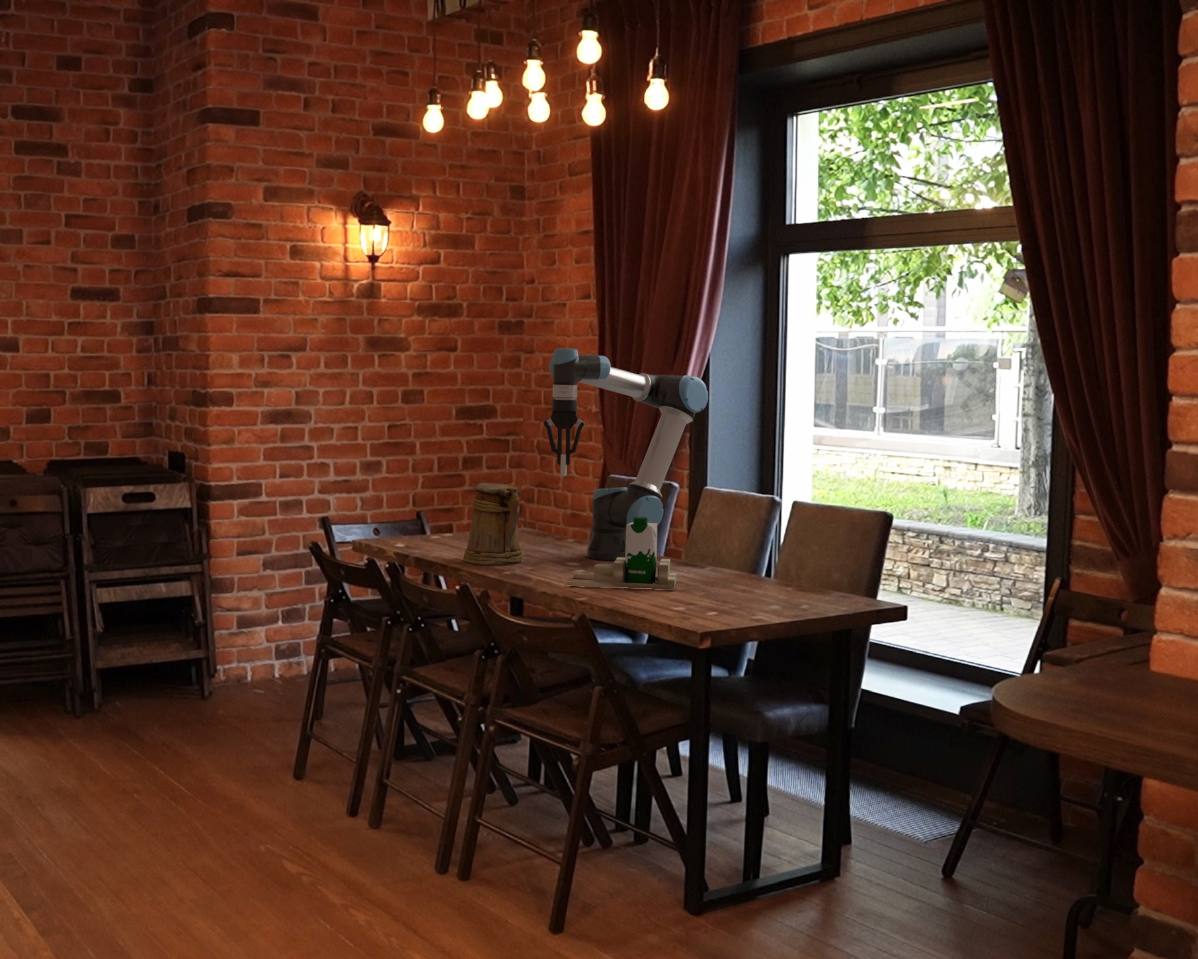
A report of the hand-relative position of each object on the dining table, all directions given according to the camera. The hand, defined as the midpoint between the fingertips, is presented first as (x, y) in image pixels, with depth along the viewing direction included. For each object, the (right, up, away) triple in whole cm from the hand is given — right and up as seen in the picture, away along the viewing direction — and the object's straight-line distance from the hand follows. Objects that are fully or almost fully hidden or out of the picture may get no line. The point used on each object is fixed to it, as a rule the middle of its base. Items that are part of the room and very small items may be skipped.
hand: (563, 475), depth 421 cm
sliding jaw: (+14, -32, -21) cm, 40 cm away
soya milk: (+23, -32, -22) cm, 45 cm away
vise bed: (+18, -32, -21) cm, 42 cm away
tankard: (-21, -28, +15) cm, 38 cm away
